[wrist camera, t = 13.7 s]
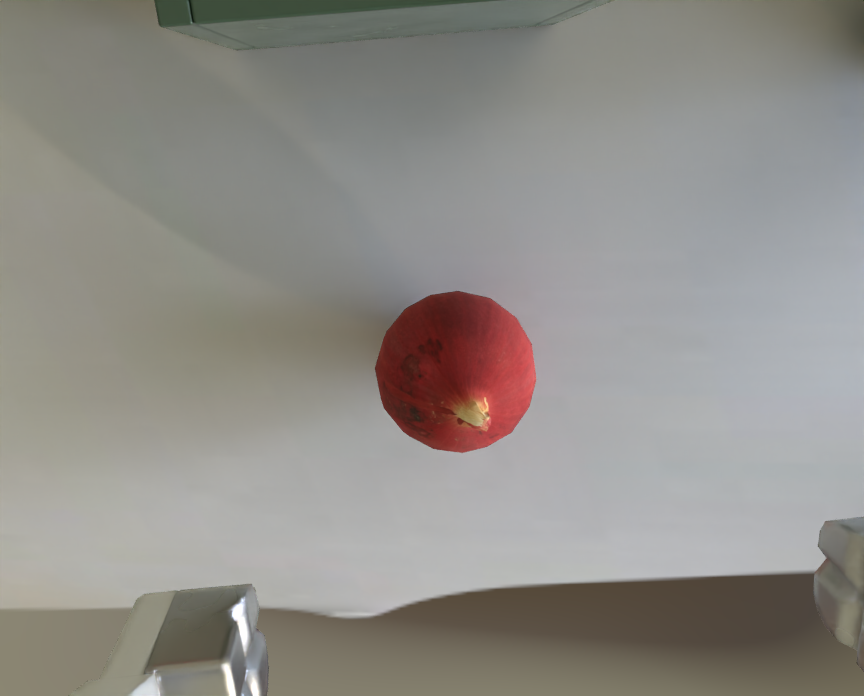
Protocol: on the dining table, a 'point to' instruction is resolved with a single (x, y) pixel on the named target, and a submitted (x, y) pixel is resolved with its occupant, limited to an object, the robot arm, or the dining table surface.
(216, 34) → the green box
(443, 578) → the dining table surface
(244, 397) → the dining table surface
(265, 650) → the robot arm
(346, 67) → the dining table surface
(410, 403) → the onion
